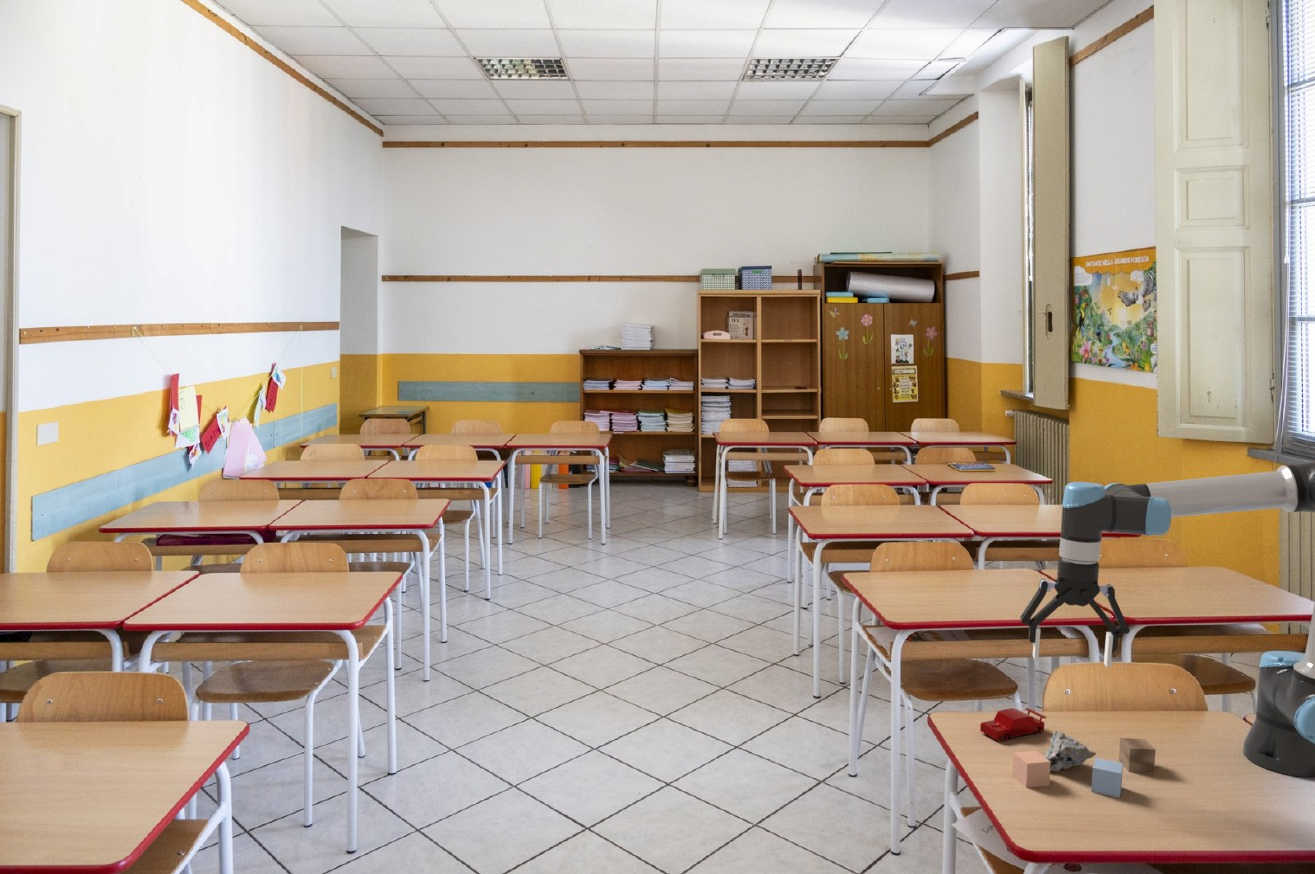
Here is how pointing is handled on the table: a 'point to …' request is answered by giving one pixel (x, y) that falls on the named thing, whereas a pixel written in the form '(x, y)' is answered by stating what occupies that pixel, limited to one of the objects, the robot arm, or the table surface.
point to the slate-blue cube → (1107, 777)
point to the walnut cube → (1137, 755)
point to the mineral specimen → (1066, 752)
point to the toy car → (1012, 724)
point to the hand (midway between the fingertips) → (1070, 661)
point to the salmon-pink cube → (1031, 769)
